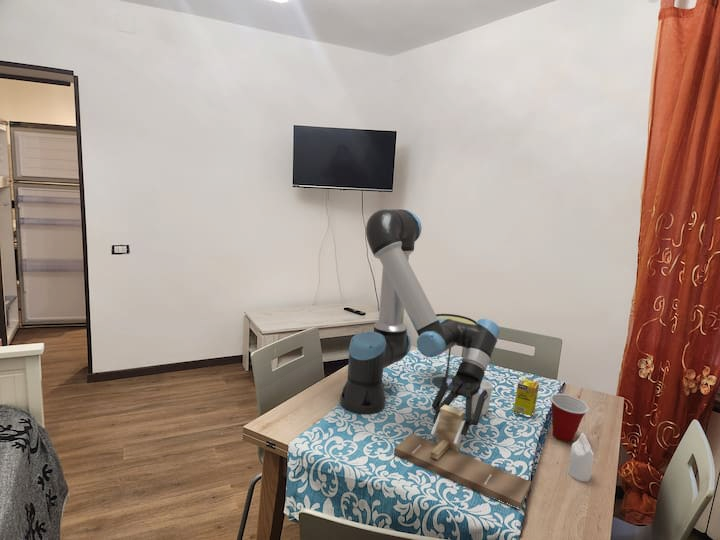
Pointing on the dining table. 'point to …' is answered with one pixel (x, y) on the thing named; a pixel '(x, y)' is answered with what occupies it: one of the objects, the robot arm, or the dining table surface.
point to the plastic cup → (566, 416)
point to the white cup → (488, 387)
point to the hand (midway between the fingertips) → (444, 440)
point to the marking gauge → (447, 430)
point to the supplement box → (526, 396)
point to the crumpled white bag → (581, 459)
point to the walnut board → (465, 470)
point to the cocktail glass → (438, 380)
